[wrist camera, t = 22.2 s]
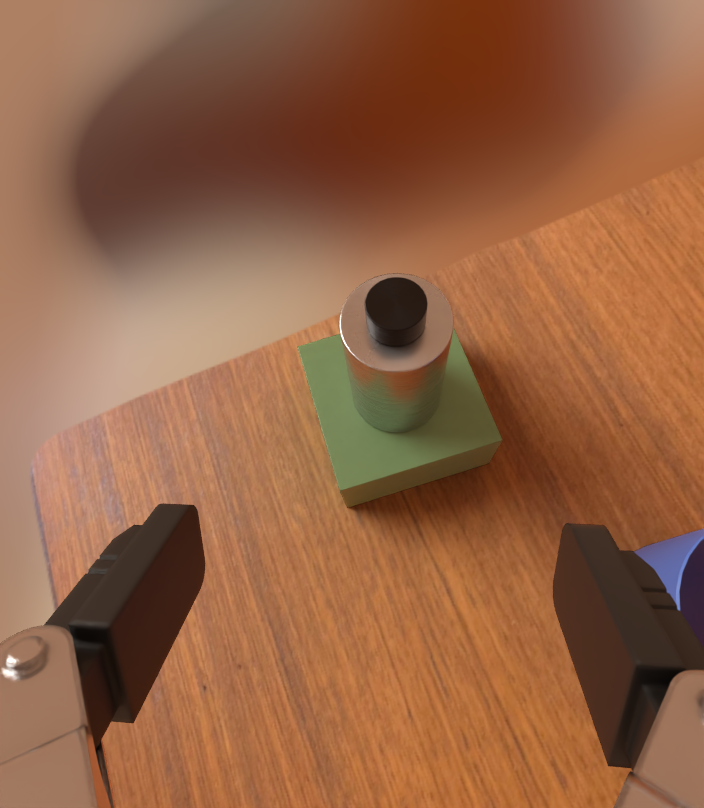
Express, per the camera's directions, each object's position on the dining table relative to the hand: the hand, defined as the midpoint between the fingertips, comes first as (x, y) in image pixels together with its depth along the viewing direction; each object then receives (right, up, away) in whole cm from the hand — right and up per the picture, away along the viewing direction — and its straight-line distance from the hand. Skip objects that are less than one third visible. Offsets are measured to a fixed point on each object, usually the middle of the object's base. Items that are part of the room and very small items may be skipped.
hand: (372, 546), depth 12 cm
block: (+3, +2, +26) cm, 26 cm away
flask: (+2, +4, +21) cm, 22 cm away
